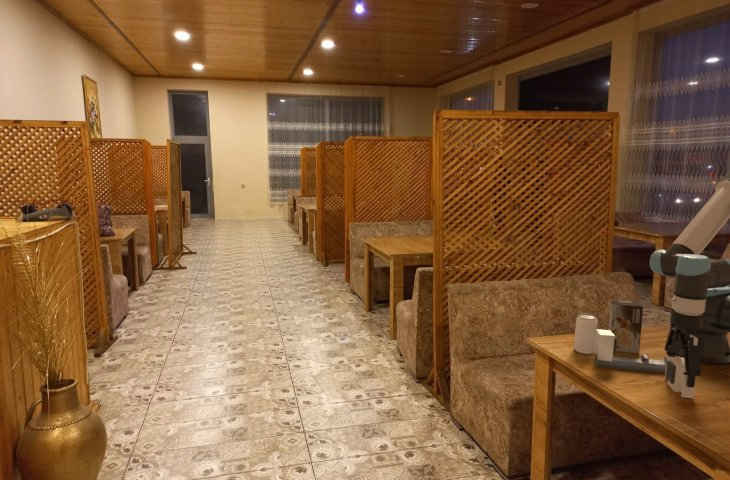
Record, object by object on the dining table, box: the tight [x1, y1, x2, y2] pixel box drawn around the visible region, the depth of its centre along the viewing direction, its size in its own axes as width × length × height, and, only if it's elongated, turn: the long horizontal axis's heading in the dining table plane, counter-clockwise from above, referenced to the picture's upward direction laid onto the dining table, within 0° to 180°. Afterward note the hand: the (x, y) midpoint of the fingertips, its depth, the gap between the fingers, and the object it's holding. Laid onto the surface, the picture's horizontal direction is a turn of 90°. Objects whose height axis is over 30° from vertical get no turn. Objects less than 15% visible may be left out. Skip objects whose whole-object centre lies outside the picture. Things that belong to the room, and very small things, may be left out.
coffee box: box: [608, 299, 644, 354], centre depth 167 cm, size 9×6×16 cm
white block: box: [665, 356, 686, 393], centre depth 140 cm, size 5×5×8 cm
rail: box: [593, 328, 668, 374], centre depth 153 cm, size 21×5×10 cm, turn 78°
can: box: [573, 313, 599, 355], centre depth 165 cm, size 6×6×12 cm
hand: (678, 387), depth 140 cm, fingers open, 11 cm apart
